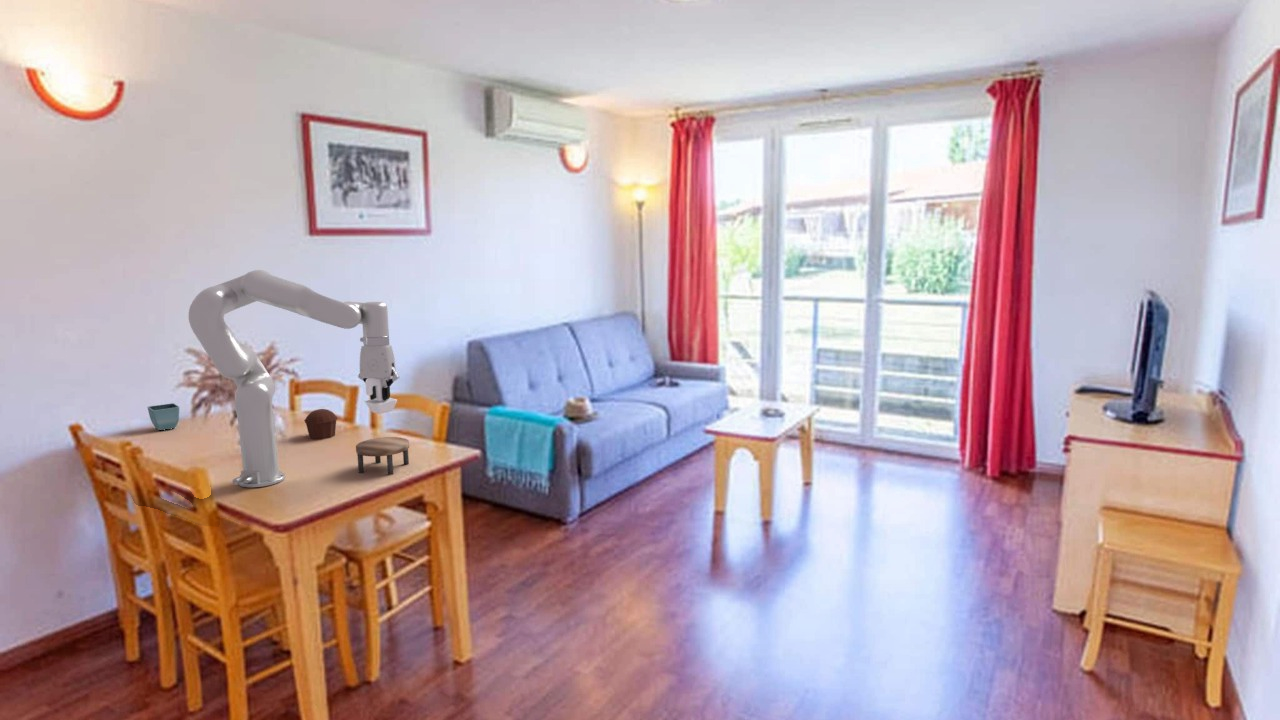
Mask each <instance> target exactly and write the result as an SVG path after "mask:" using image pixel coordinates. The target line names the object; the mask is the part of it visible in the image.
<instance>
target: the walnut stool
mask: <svg viewBox="0 0 1280 720" xmlns="http://www.w3.org/2000/svg"><path fill="white" fill-rule="evenodd" d="M409 449H410V441H409V440H408V439H407V438H405V437H398V436H397V437H396V436H393V437H392V436H385V437H383V436H382V437H375V438H371V439H370V438H369V439H367V440H362V441H360V442H359V443H357V444H356V445H355V452H356V454H357V455H356V456H357V467H358V469H357V470H358V473H359V474H362V473H364V472H365V467H364V466H365V465H364V464H365V463H364V456H365V457H374V459H375V464H380V463H381V460H382V459H381V457H386V464H387V465H386V466H387V475H388V476H389V475H390V476H392V475H394V464H393V455H398V454H400V453H402V455H403V456H402V457H403V465H404V466H407V465H409V463H410V462H409V461H410V460H409Z"/></svg>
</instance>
